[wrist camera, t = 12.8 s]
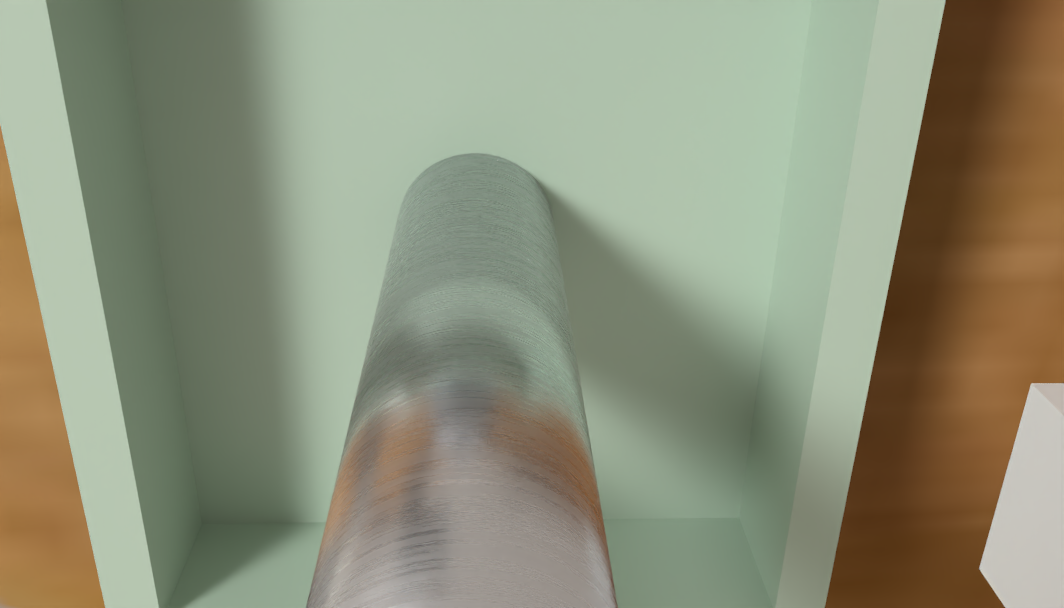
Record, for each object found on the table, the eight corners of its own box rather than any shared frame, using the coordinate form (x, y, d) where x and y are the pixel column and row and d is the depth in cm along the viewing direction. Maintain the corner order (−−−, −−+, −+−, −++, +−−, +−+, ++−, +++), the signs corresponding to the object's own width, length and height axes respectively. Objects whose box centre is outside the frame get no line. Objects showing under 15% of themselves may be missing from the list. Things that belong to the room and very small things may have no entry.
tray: (41, -256, 16) (-89, -282, 12) (883, -231, 17) (995, -249, 13) (174, 531, 23) (117, 662, 19) (765, 524, 24) (816, 649, 20)
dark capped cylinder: (394, 152, 18) (134, 1047, 5) (556, 154, 18) (739, 1028, 5) (400, 297, 19) (208, 1320, 6) (551, 299, 20) (683, 1298, 6)
